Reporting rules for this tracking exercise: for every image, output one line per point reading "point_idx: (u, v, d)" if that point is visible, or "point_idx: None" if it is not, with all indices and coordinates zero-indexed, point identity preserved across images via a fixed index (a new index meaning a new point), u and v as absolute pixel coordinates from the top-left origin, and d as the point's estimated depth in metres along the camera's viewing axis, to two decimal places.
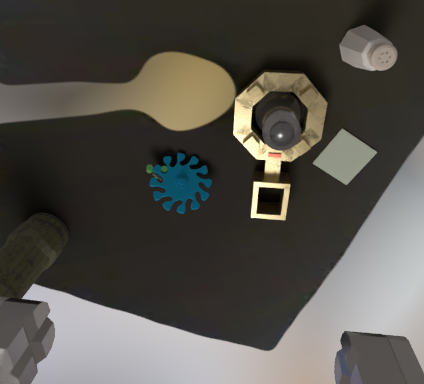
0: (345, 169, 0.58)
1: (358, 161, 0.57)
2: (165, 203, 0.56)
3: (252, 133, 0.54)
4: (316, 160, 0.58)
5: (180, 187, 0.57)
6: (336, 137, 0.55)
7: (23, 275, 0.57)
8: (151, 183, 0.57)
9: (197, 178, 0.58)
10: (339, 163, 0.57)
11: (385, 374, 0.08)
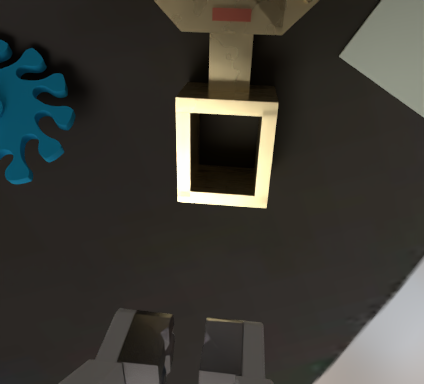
0: None
1: None
2: None
3: None
4: (349, 47, 0.21)
5: None
6: None
7: None
8: None
9: (33, 103, 0.22)
10: (411, 54, 0.21)
11: (225, 357, 0.08)
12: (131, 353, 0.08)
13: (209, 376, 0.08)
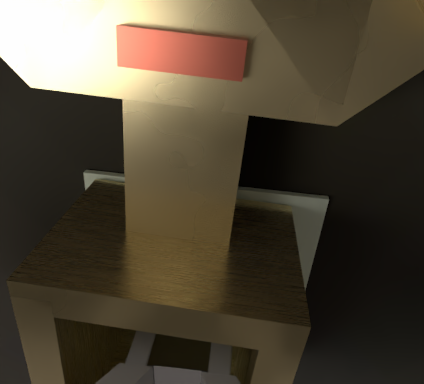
0: None
1: None
2: None
3: None
4: (108, 180, 0.10)
5: None
6: (271, 200, 0.10)
7: None
8: None
9: None
10: None
11: (193, 353, 0.08)
12: (161, 356, 0.08)
13: (176, 372, 0.08)
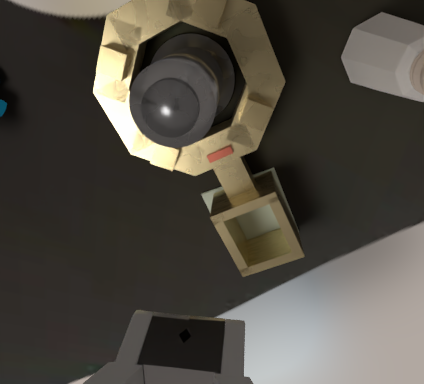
0: None
1: (266, 229, 0.34)
2: None
3: None
4: (209, 193, 0.33)
5: None
6: None
7: None
8: None
9: None
10: (238, 217, 0.34)
11: (205, 355, 0.08)
12: (151, 355, 0.08)
13: (189, 374, 0.08)
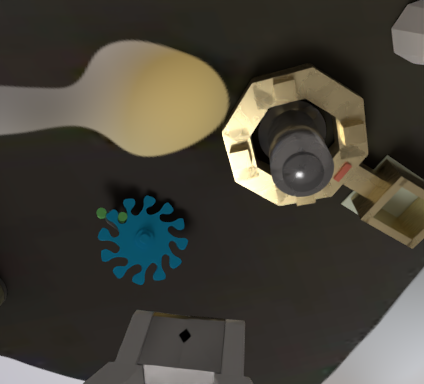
0: (389, 212, 0.40)
1: (409, 202, 0.39)
2: (116, 268, 0.39)
3: None
4: (347, 200, 0.40)
5: (142, 247, 0.40)
6: None
7: None
8: (100, 236, 0.39)
9: (168, 236, 0.41)
10: None
11: (205, 355, 0.08)
12: (151, 355, 0.08)
13: (189, 374, 0.08)
